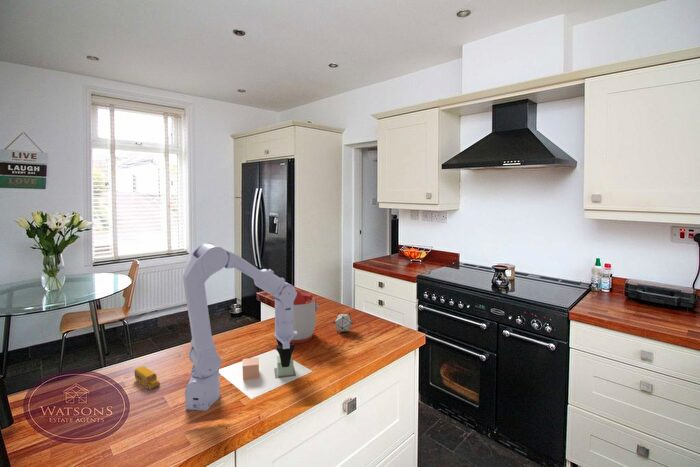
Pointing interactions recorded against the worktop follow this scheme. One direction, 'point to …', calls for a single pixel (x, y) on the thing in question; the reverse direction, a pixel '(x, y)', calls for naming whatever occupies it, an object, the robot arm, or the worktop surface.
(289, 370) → the green brick
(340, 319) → the game die
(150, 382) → the toy bus
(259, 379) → the baseplate
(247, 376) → the terracotta brick
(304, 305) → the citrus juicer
